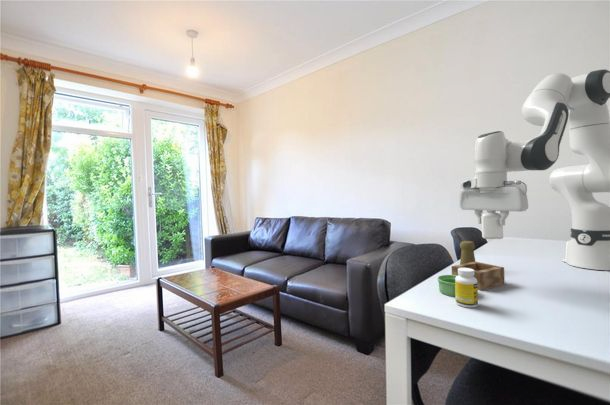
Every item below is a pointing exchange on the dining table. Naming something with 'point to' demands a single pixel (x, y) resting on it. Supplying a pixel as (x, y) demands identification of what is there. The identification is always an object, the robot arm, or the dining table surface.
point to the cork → (467, 252)
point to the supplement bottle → (466, 288)
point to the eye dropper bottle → (491, 225)
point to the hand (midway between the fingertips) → (491, 224)
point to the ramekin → (447, 284)
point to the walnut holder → (483, 274)
